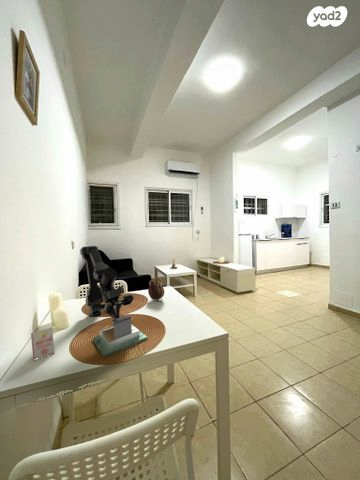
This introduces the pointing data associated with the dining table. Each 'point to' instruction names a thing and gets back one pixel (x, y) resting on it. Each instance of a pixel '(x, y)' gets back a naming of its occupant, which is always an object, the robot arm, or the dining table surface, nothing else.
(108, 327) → the tan square pad
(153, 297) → the brown rounded piece
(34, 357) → the pink printed box
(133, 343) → the grey and green stand
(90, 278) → the robot arm
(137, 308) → the dining table surface
